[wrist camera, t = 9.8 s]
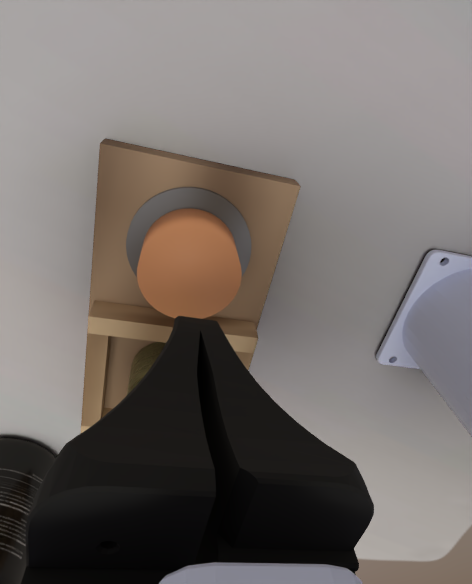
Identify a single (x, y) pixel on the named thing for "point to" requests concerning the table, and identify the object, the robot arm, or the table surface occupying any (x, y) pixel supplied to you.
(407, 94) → the table surface
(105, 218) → the board
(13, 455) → the supplement bottle
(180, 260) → the button
